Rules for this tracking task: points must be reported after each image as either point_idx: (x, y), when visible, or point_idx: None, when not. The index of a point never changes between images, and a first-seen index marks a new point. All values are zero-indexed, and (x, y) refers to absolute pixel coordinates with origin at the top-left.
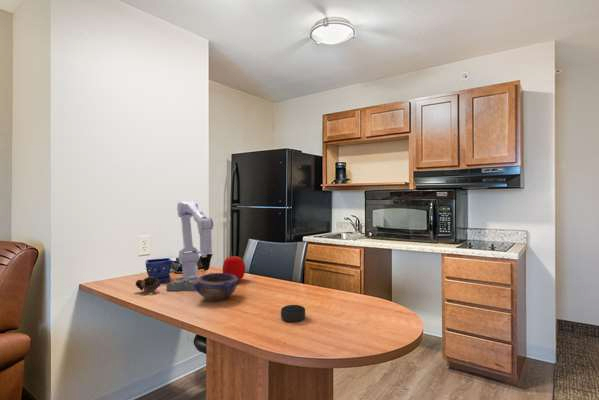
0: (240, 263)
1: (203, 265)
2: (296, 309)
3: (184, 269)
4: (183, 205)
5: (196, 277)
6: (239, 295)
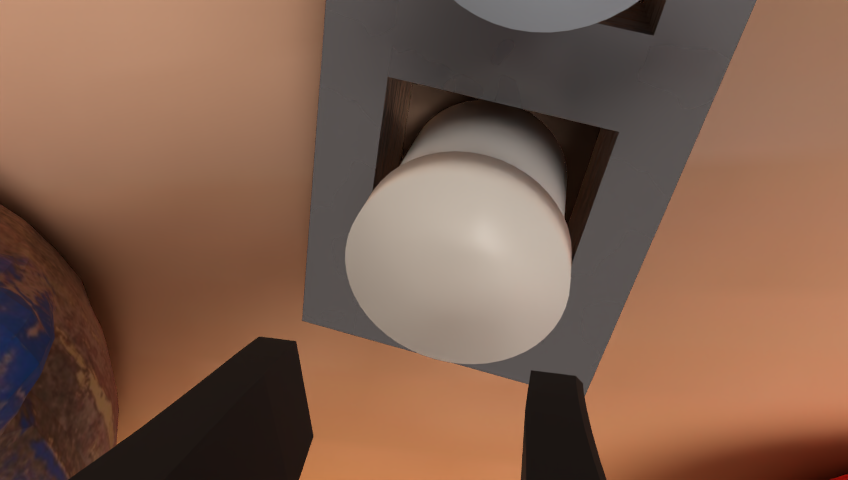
0: None
1: (137, 468)
2: None
3: None
4: None
5: (465, 1)
6: None
